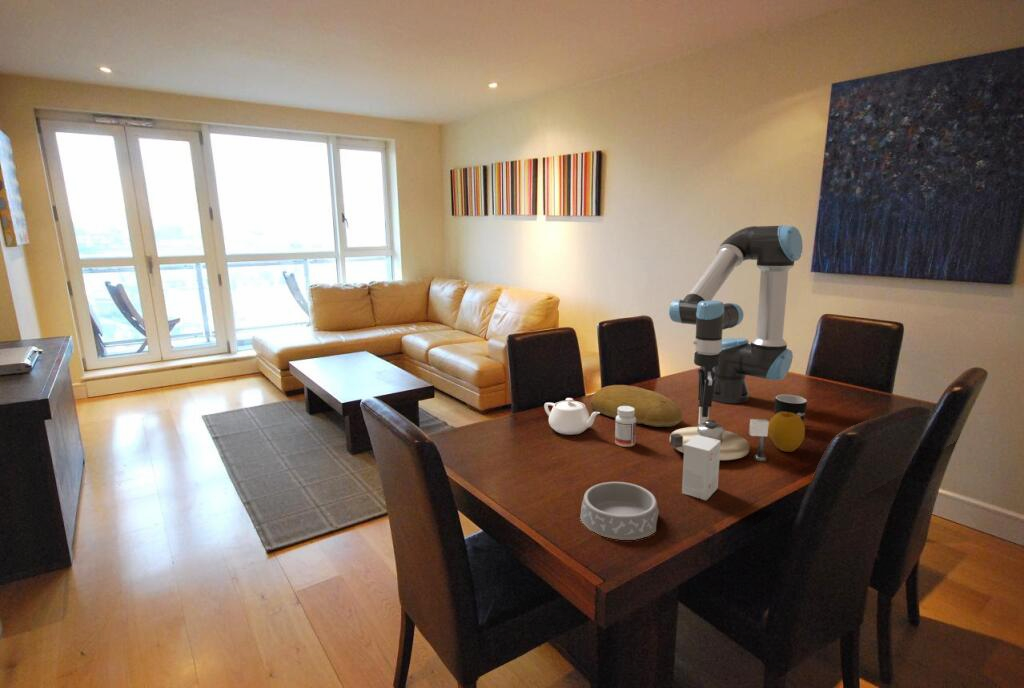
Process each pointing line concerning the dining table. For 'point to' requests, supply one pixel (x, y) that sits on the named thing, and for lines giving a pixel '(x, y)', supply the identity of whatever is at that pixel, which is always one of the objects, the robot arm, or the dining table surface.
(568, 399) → the teapot
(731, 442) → the platter
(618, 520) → the dog bowl
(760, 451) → the silver rod with block
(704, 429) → the cover
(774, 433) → the apple
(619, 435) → the pill bottle
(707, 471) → the small box
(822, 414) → the dining table surface
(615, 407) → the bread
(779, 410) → the mug
